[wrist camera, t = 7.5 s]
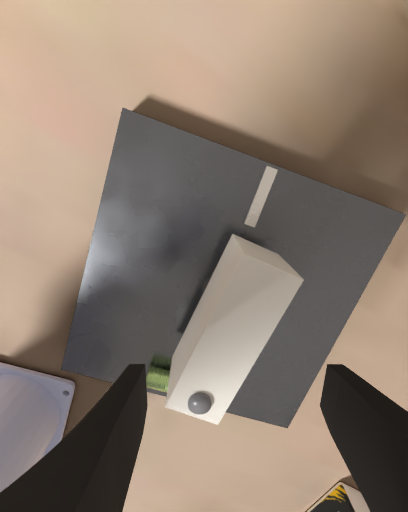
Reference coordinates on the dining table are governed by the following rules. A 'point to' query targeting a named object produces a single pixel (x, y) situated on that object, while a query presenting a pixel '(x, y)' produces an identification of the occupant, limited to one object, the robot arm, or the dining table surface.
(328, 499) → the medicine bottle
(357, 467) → the robot arm
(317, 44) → the dining table surface
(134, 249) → the base
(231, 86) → the dining table surface
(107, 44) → the dining table surface
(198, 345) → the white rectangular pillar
